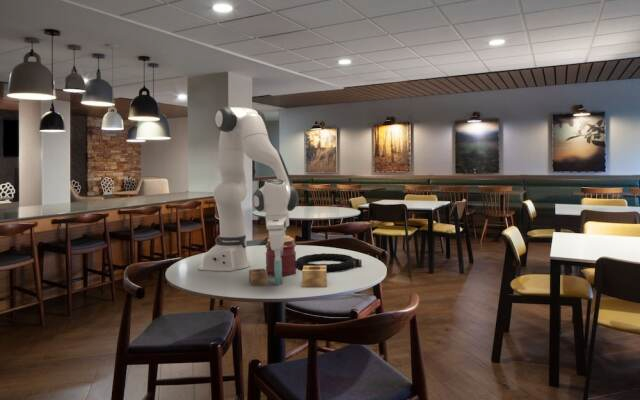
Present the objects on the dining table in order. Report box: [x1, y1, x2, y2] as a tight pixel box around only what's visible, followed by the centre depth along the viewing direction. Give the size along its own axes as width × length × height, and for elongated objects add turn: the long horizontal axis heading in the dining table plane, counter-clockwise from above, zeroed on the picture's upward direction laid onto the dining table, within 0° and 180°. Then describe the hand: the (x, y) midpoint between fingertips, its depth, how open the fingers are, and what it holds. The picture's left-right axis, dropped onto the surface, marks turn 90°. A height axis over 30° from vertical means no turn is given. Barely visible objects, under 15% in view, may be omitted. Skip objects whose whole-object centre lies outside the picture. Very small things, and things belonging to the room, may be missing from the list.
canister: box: [264, 234, 297, 276], centre depth 195 cm, size 13×13×18 cm
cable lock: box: [296, 253, 362, 273], centre depth 207 cm, size 28×4×30 cm
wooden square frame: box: [301, 265, 328, 288], centre depth 177 cm, size 9×9×6 cm
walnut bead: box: [248, 268, 268, 287], centre depth 178 cm, size 6×6×5 cm
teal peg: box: [274, 257, 283, 286], centre depth 177 cm, size 3×3×11 cm
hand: (279, 257), depth 176 cm, fingers open, 8 cm apart
